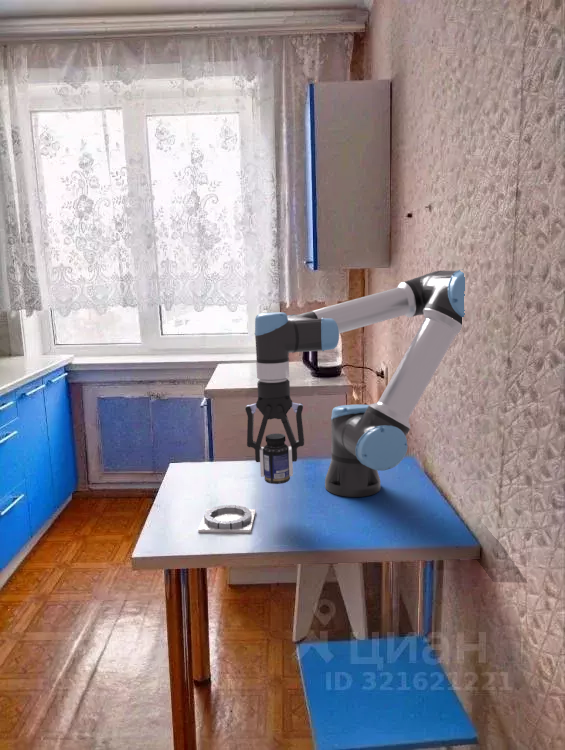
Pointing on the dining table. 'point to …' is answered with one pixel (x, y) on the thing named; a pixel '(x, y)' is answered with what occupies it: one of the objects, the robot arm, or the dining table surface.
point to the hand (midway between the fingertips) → (277, 474)
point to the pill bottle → (276, 459)
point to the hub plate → (227, 520)
